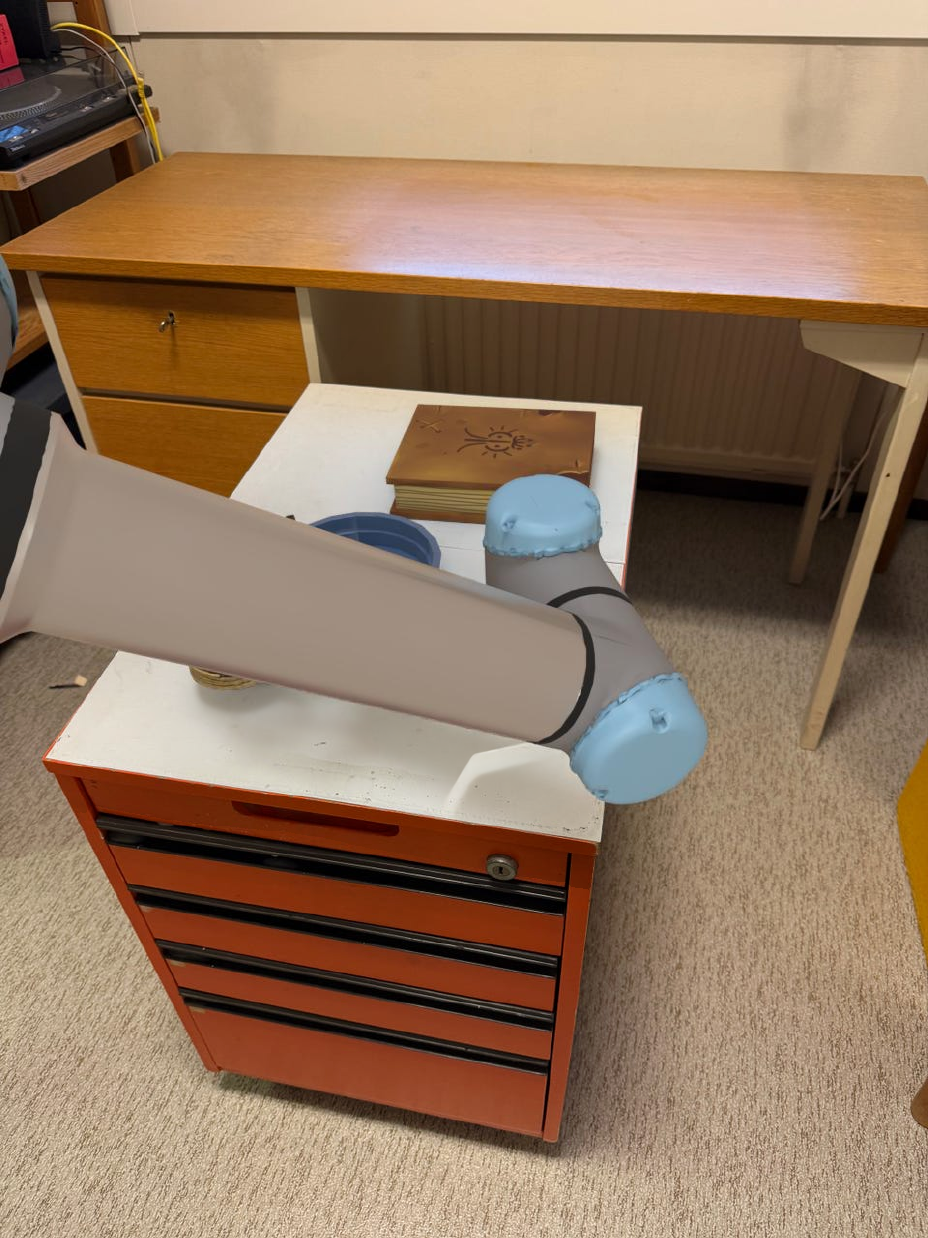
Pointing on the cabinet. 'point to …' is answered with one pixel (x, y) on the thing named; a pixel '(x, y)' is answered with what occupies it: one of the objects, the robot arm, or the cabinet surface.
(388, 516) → the bowl
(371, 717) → the cabinet surface
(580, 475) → the diary
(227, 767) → the cabinet surface
